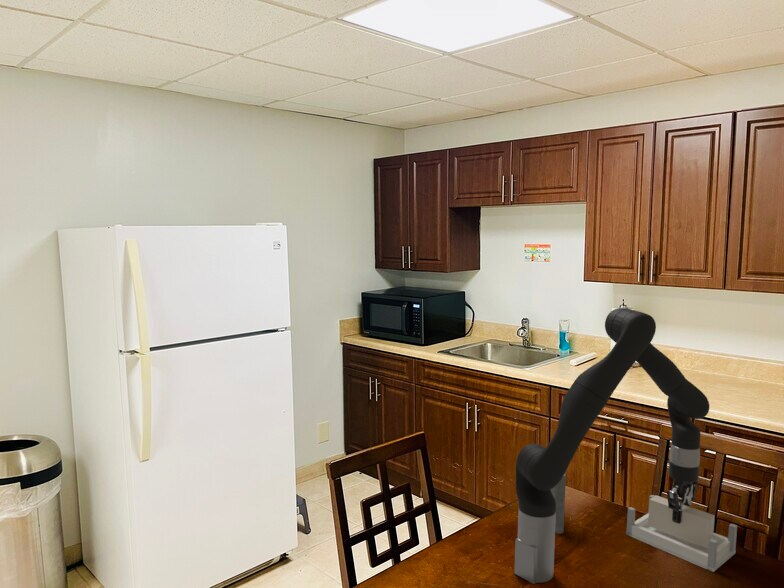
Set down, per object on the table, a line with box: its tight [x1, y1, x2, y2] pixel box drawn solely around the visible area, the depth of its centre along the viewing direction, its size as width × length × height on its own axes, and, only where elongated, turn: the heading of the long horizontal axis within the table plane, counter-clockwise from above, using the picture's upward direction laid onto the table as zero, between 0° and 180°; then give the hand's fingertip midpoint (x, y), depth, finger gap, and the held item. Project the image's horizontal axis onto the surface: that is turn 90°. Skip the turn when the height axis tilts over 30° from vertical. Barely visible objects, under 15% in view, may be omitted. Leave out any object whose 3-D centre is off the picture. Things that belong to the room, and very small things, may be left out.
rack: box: [625, 494, 738, 573], centre depth 166 cm, size 14×24×8 cm, turn 39°
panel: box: [648, 494, 716, 548], centre depth 166 cm, size 4×16×8 cm, turn 42°
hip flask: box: [550, 473, 567, 535], centre depth 178 cm, size 16×4×20 cm, turn 1°
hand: (680, 519), depth 166 cm, fingers closed on panel, 4 cm apart
